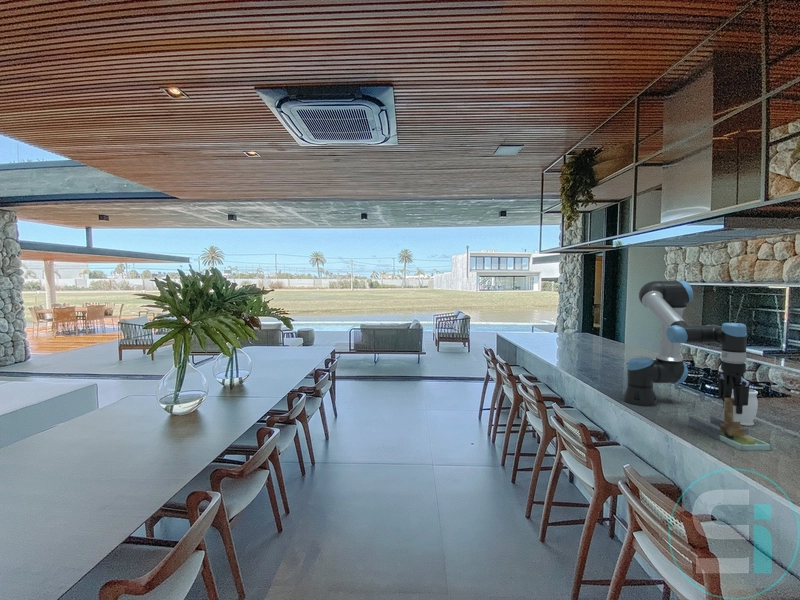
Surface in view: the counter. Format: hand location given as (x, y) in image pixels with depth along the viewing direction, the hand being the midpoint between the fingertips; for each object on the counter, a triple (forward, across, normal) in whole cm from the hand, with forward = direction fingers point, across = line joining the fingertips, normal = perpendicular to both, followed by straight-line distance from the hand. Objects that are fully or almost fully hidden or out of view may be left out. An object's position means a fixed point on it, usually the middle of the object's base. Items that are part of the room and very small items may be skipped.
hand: (732, 419), depth 154 cm
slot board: (+8, -7, 0) cm, 11 cm away
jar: (+8, -18, +20) cm, 28 cm away
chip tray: (+8, +6, 0) cm, 10 cm away
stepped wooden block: (+6, 0, 0) cm, 6 cm away
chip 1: (+8, +4, 0) cm, 9 cm away
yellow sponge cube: (+6, +6, 0) cm, 8 cm away
